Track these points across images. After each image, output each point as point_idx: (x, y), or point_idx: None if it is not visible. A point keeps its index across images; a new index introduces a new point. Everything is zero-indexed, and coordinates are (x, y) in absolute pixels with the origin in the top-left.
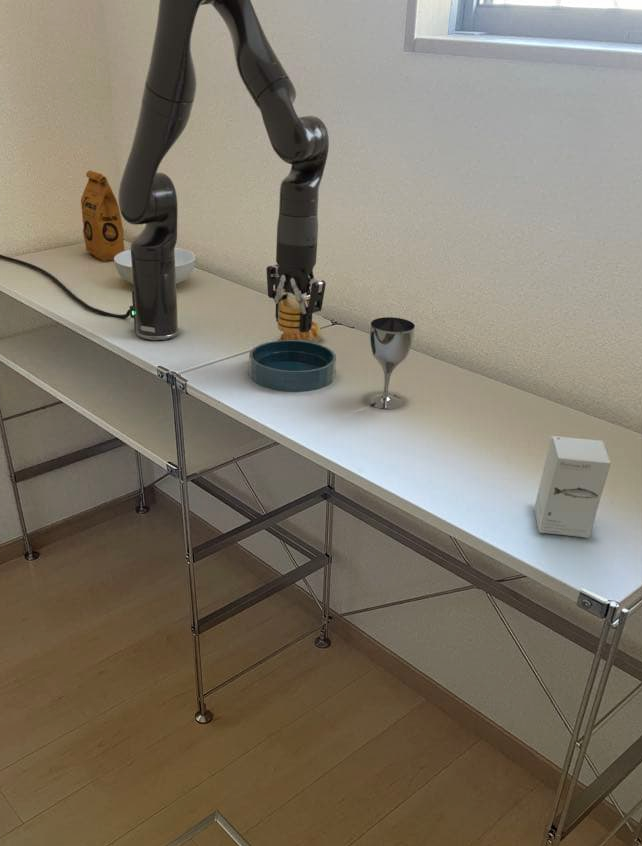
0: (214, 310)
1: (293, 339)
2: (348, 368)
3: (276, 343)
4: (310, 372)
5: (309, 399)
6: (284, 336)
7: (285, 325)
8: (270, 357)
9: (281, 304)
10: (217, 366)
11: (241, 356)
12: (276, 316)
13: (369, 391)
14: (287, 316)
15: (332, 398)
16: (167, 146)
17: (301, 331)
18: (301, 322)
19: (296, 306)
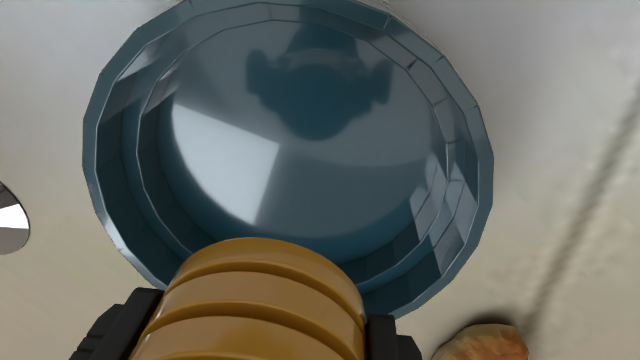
0: None
1: (467, 347)
2: None
3: (445, 264)
4: (86, 125)
5: (86, 46)
6: (506, 347)
7: (220, 273)
8: (436, 200)
9: None
10: (631, 15)
11: (583, 172)
12: (396, 346)
13: (56, 233)
14: (179, 342)
15: (56, 116)
16: None
17: (144, 289)
18: (111, 342)
19: None
